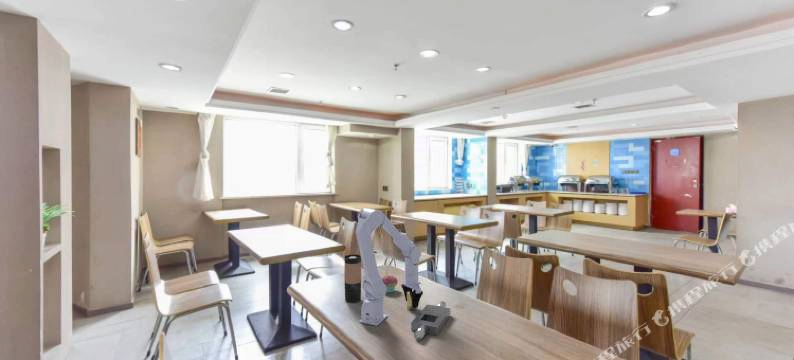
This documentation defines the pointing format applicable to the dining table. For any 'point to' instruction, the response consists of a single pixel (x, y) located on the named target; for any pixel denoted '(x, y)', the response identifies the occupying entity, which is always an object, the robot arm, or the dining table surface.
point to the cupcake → (389, 282)
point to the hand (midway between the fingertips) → (411, 304)
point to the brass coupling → (409, 302)
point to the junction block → (430, 320)
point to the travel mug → (352, 278)
